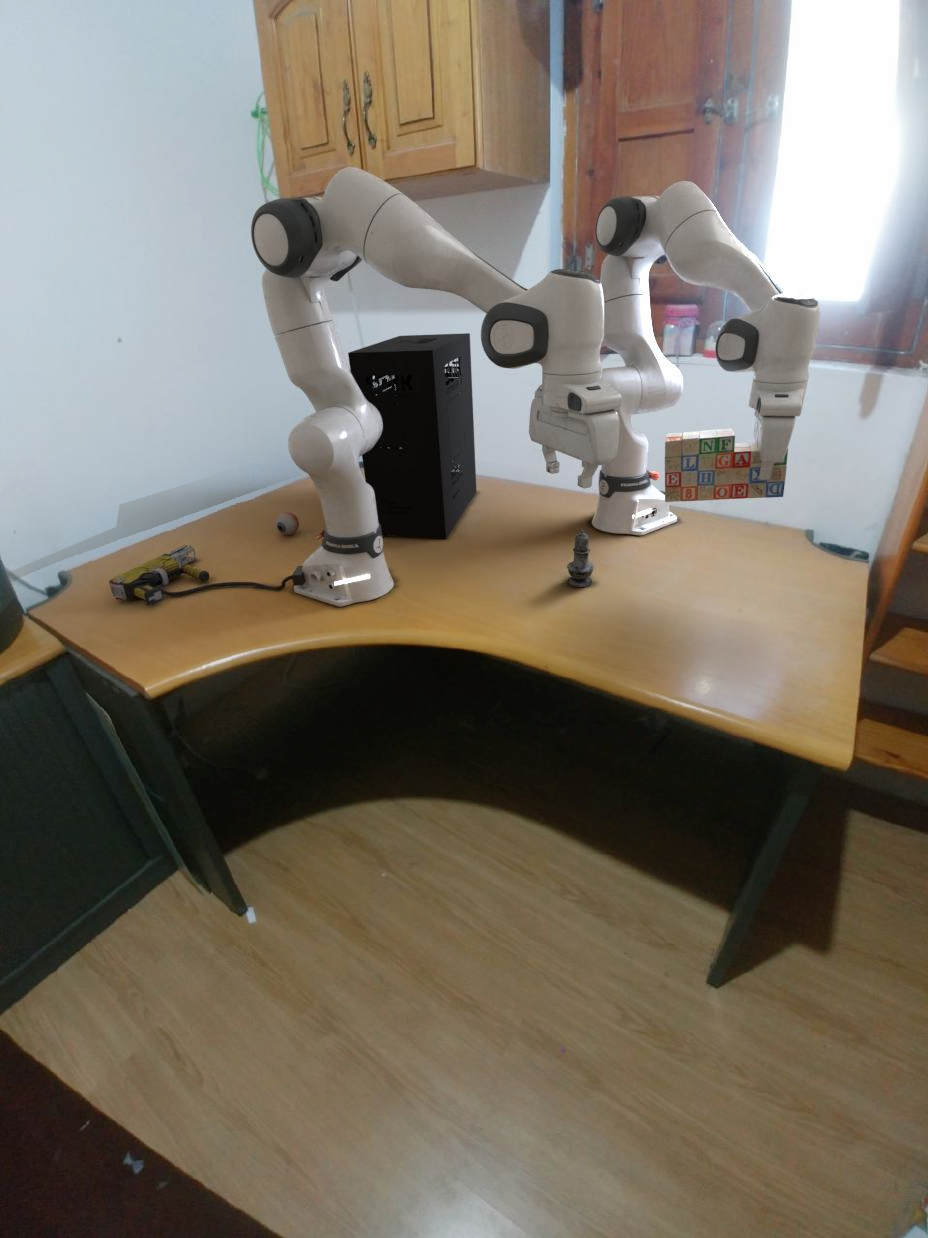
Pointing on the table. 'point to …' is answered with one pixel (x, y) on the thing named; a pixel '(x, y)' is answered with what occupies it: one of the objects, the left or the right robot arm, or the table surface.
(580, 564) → the grey chess piece
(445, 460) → the black computer case
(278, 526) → the eyeball
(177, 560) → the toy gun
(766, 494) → the stack of blocks
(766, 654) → the table surface
